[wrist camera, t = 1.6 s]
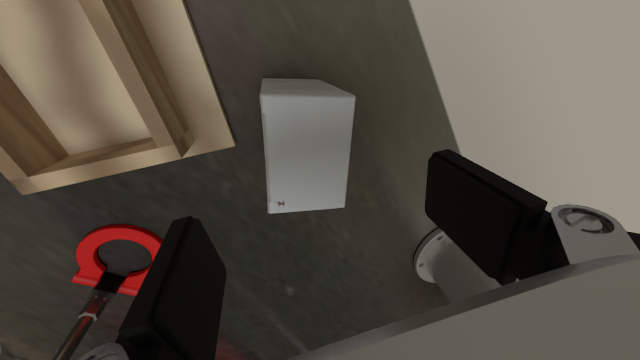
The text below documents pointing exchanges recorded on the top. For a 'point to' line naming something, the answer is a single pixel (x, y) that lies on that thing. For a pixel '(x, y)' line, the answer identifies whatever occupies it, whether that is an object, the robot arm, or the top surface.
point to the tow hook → (103, 278)
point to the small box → (306, 143)
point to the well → (101, 90)
